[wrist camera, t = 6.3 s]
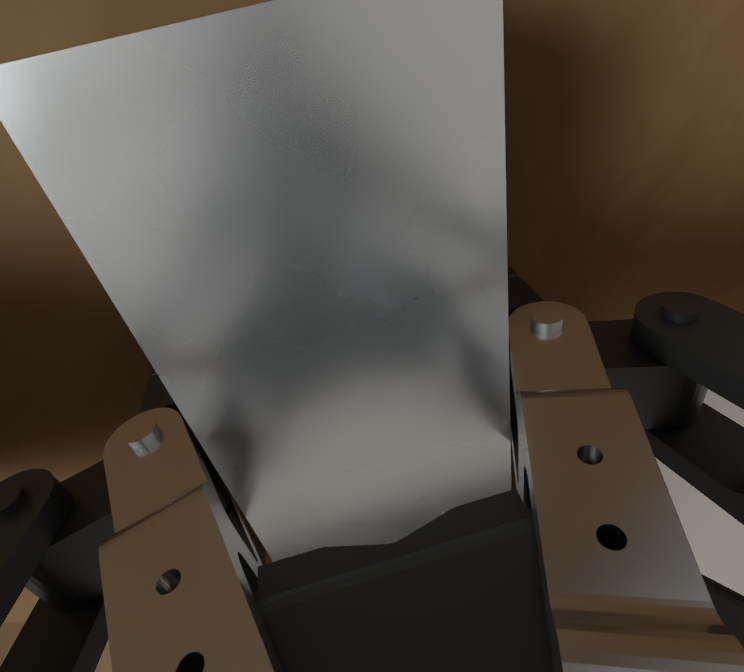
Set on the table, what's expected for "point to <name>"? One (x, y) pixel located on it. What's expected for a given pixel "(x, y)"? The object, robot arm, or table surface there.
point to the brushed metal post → (301, 245)
